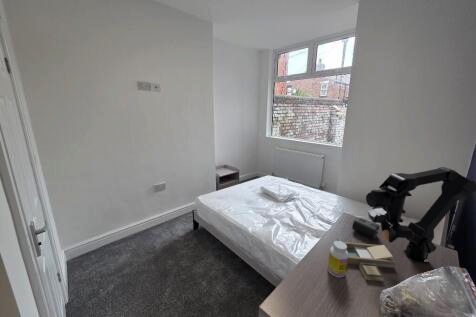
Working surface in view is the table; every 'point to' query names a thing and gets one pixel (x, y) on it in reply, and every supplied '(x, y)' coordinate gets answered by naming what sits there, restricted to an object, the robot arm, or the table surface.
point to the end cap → (365, 228)
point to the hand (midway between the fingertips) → (387, 238)
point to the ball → (385, 235)
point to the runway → (369, 254)
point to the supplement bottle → (338, 259)
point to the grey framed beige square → (371, 272)
